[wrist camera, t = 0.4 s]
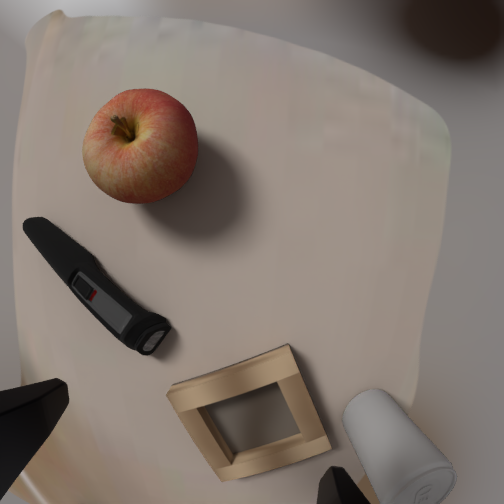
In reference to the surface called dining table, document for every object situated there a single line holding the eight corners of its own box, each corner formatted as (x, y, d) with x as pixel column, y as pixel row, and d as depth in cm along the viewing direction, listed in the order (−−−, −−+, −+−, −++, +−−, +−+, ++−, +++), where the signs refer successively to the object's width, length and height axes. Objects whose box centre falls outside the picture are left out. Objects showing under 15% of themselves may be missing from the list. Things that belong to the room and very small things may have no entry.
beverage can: (342, 437, 23) (383, 531, 11) (337, 395, 23) (388, 489, 11) (391, 422, 22) (451, 501, 10) (390, 379, 22) (465, 454, 10)
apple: (112, 126, 22) (63, 86, 14) (201, 106, 22) (179, 51, 14) (113, 217, 23) (56, 205, 15) (210, 202, 22) (186, 179, 14)
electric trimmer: (53, 206, 23) (31, 202, 20) (176, 322, 23) (163, 333, 20) (35, 240, 23) (13, 239, 20) (151, 355, 23) (137, 369, 20)
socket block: (223, 468, 23) (221, 482, 21) (172, 384, 23) (165, 395, 21) (327, 436, 23) (332, 448, 21) (288, 343, 22) (290, 352, 20)
